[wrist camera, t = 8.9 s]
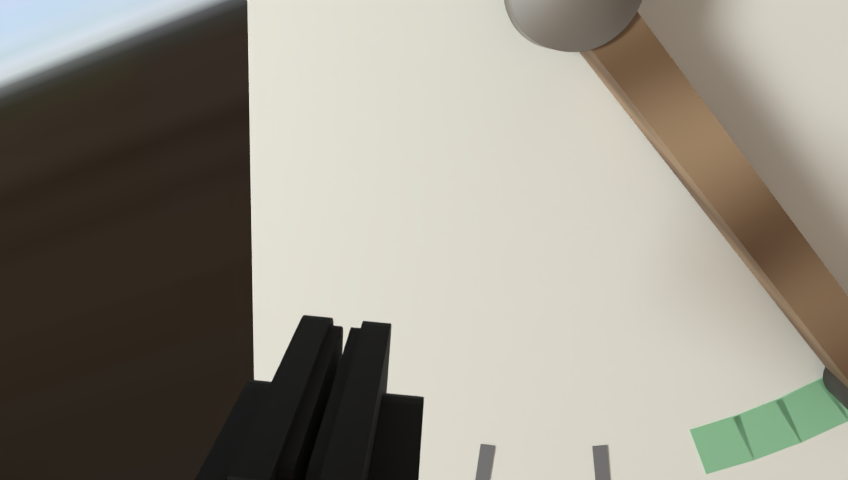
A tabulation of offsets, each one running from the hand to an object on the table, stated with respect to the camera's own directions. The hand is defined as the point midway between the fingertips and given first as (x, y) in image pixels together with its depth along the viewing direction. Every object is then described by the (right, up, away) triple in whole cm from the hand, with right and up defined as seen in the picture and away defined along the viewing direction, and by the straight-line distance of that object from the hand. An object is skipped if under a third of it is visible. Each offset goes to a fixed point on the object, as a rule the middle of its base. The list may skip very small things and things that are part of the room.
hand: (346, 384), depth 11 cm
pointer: (+12, +4, +9) cm, 15 cm away
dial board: (+8, +2, +12) cm, 15 cm away
